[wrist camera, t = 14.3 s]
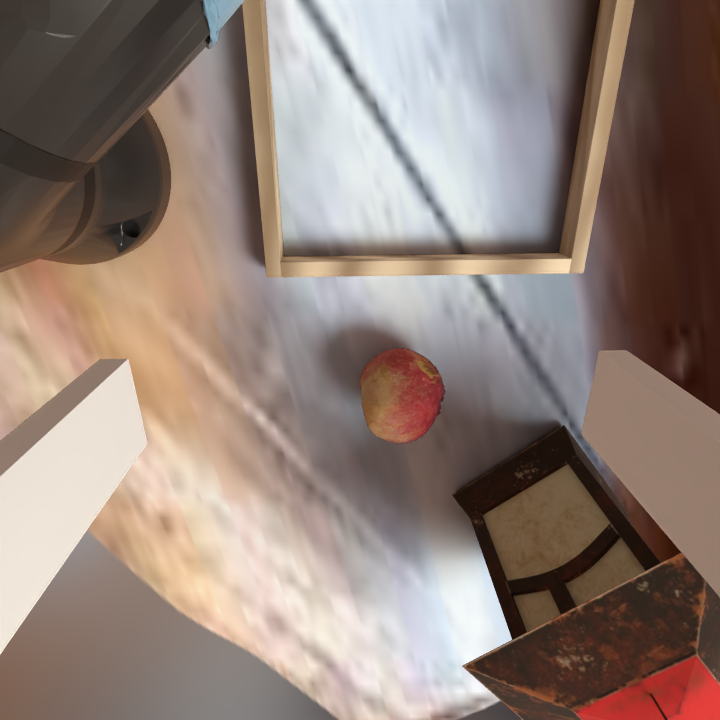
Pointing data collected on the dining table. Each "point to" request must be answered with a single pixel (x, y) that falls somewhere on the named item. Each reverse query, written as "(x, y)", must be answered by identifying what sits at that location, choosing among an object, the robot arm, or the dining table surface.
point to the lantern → (588, 599)
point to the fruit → (400, 395)
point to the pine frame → (568, 260)
